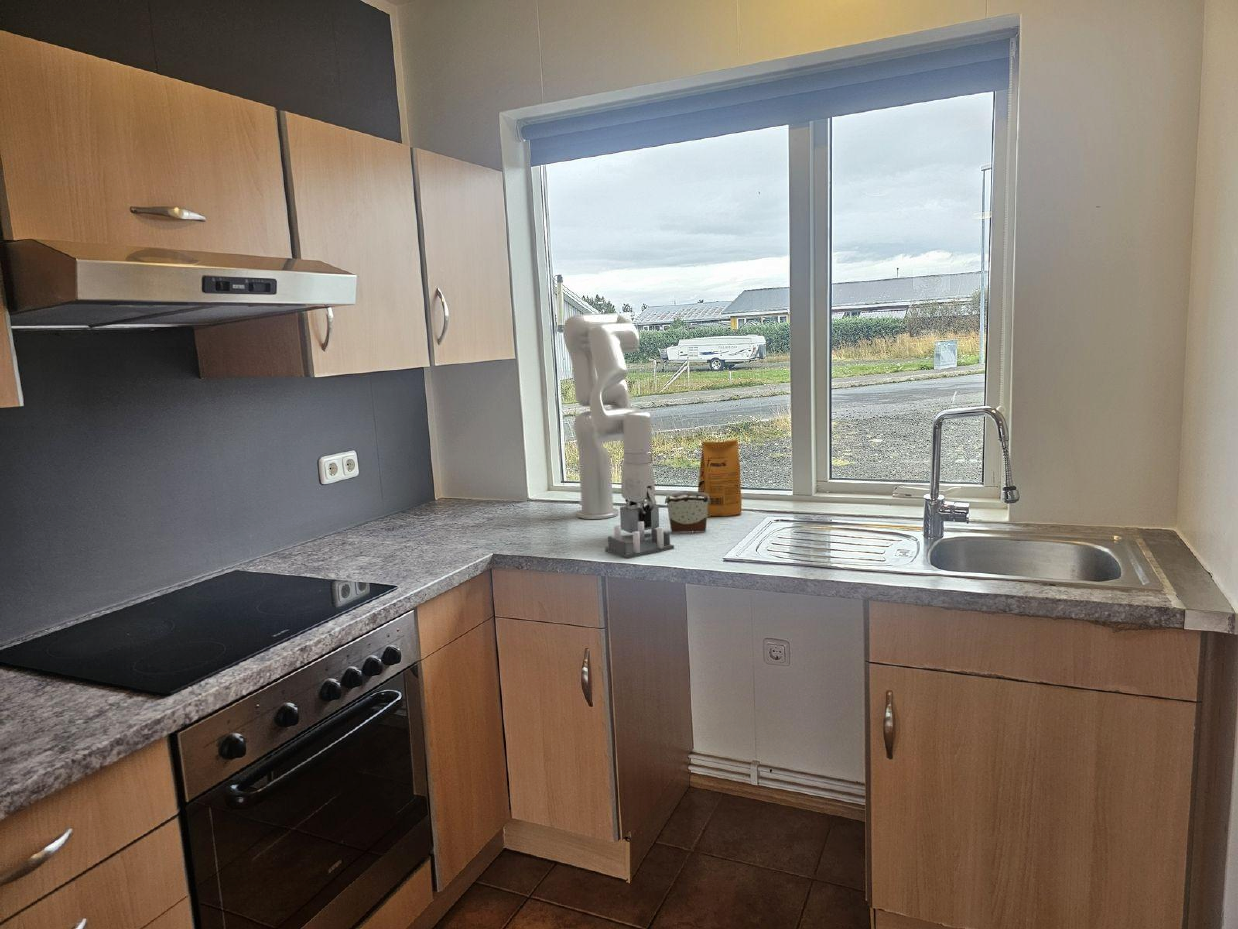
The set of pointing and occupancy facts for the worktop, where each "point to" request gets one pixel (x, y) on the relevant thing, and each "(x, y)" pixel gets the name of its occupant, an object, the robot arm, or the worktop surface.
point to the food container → (687, 511)
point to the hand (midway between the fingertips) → (639, 524)
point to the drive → (636, 517)
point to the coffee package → (721, 477)
